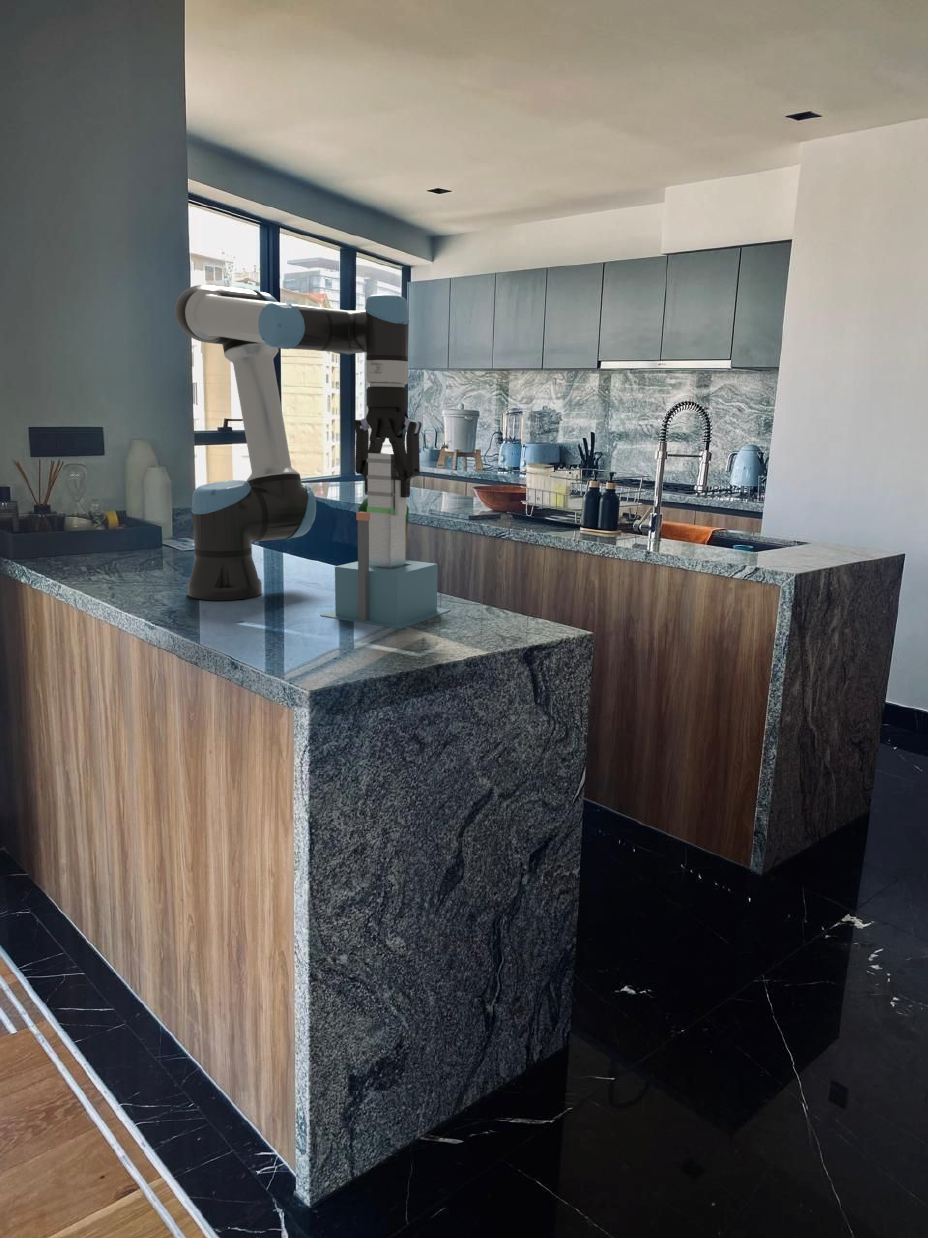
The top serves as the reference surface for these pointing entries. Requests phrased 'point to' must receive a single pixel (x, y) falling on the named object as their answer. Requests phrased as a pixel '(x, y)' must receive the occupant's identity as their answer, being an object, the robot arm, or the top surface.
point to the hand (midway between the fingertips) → (387, 513)
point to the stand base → (384, 589)
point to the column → (384, 514)
